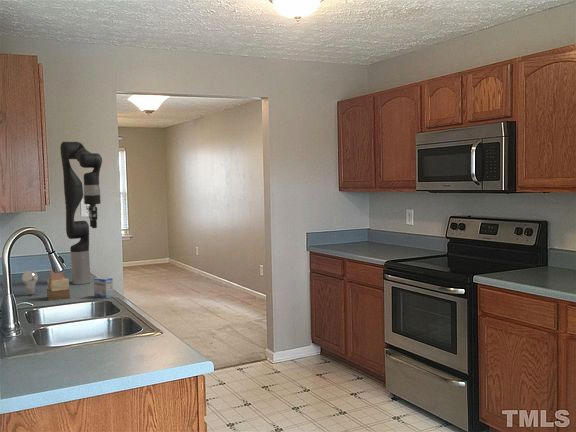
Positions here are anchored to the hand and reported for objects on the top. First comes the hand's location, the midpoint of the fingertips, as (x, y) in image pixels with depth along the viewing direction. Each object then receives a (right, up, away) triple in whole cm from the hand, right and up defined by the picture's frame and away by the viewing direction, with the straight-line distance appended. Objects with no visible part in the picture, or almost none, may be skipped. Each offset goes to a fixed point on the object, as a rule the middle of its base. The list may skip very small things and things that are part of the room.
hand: (93, 227), depth 271 cm
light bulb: (-28, -33, -5) cm, 43 cm away
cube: (-12, -24, -14) cm, 30 cm away
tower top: (-11, -28, -14) cm, 34 cm away
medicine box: (+10, -32, -14) cm, 36 cm away
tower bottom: (-11, -33, -14) cm, 37 cm away
